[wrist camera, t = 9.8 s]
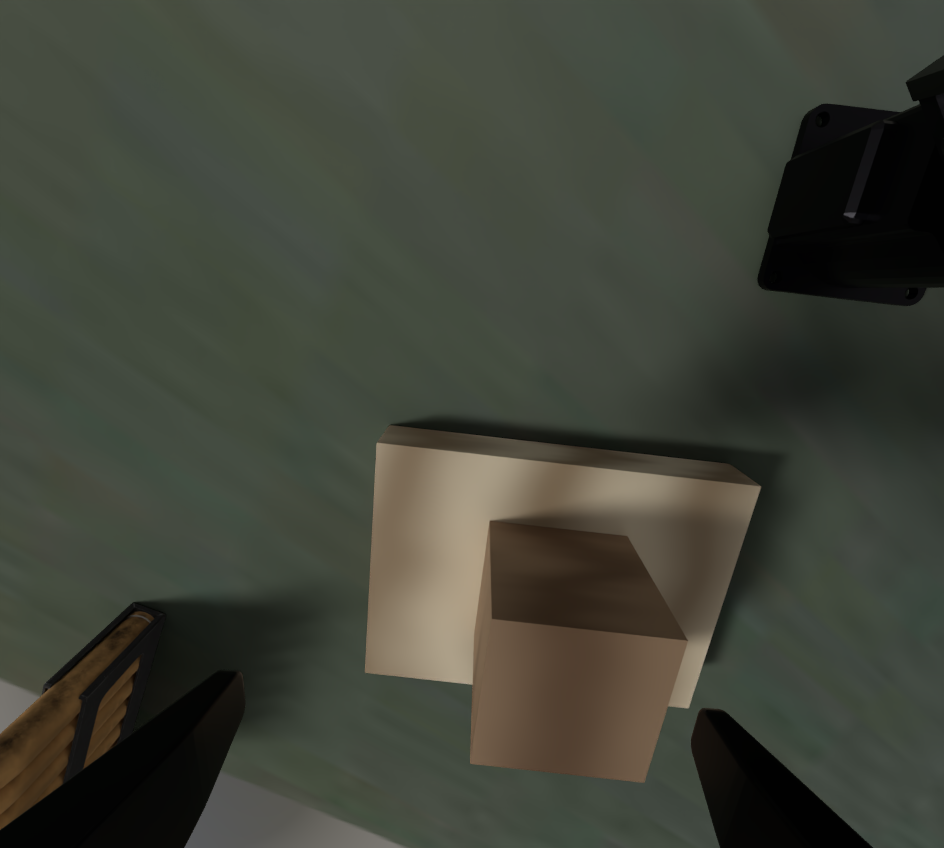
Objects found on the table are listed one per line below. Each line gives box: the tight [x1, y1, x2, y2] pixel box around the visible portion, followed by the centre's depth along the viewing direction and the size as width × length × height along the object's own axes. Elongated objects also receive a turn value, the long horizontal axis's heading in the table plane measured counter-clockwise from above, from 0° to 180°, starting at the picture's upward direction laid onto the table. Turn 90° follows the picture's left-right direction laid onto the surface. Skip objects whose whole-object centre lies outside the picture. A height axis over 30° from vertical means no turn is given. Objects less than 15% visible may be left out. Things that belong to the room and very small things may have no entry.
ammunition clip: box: [0, 603, 166, 830], centre depth 20 cm, size 11×2×12 cm, turn 156°
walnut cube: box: [470, 521, 688, 783], centre depth 17 cm, size 6×6×6 cm
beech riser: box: [365, 425, 761, 708], centre depth 21 cm, size 16×12×2 cm
